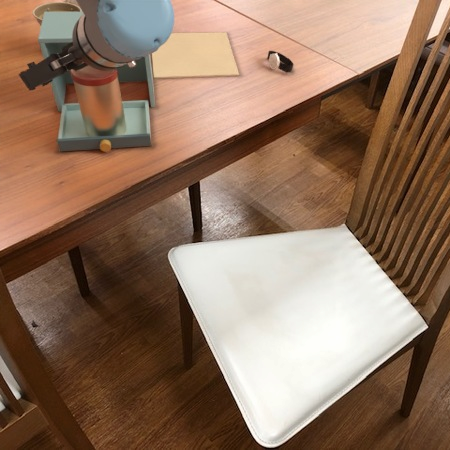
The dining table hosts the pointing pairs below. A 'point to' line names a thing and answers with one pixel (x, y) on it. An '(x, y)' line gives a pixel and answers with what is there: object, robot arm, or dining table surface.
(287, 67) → the watch
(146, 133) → the drawer
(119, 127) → the tea tin
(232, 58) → the mat
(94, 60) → the robot arm
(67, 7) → the flower pot
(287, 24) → the dining table surface
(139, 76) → the cubby
